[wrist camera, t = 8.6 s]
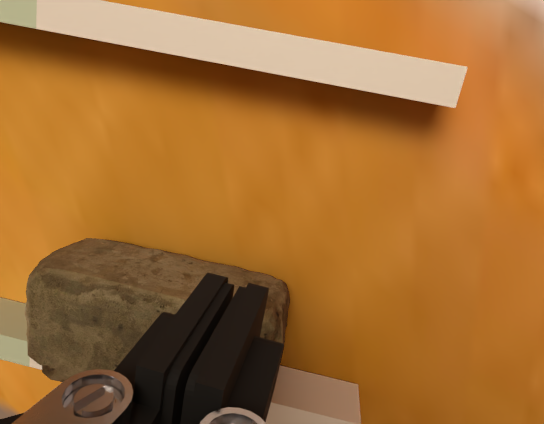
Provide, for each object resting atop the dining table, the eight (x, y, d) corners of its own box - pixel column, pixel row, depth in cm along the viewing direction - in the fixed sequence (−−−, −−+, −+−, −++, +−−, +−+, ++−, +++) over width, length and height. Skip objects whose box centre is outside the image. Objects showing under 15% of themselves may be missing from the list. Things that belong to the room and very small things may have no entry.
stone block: (76, 225, 23) (16, 264, 18) (296, 270, 23) (296, 321, 18) (69, 324, 24) (13, 383, 19) (274, 365, 24) (269, 435, 19)
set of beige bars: (447, 69, 19) (467, 66, 16) (351, 406, 24) (353, 449, 21) (-21, -16, 21) (-78, -32, 18) (-16, 315, 26) (-59, 344, 23)
